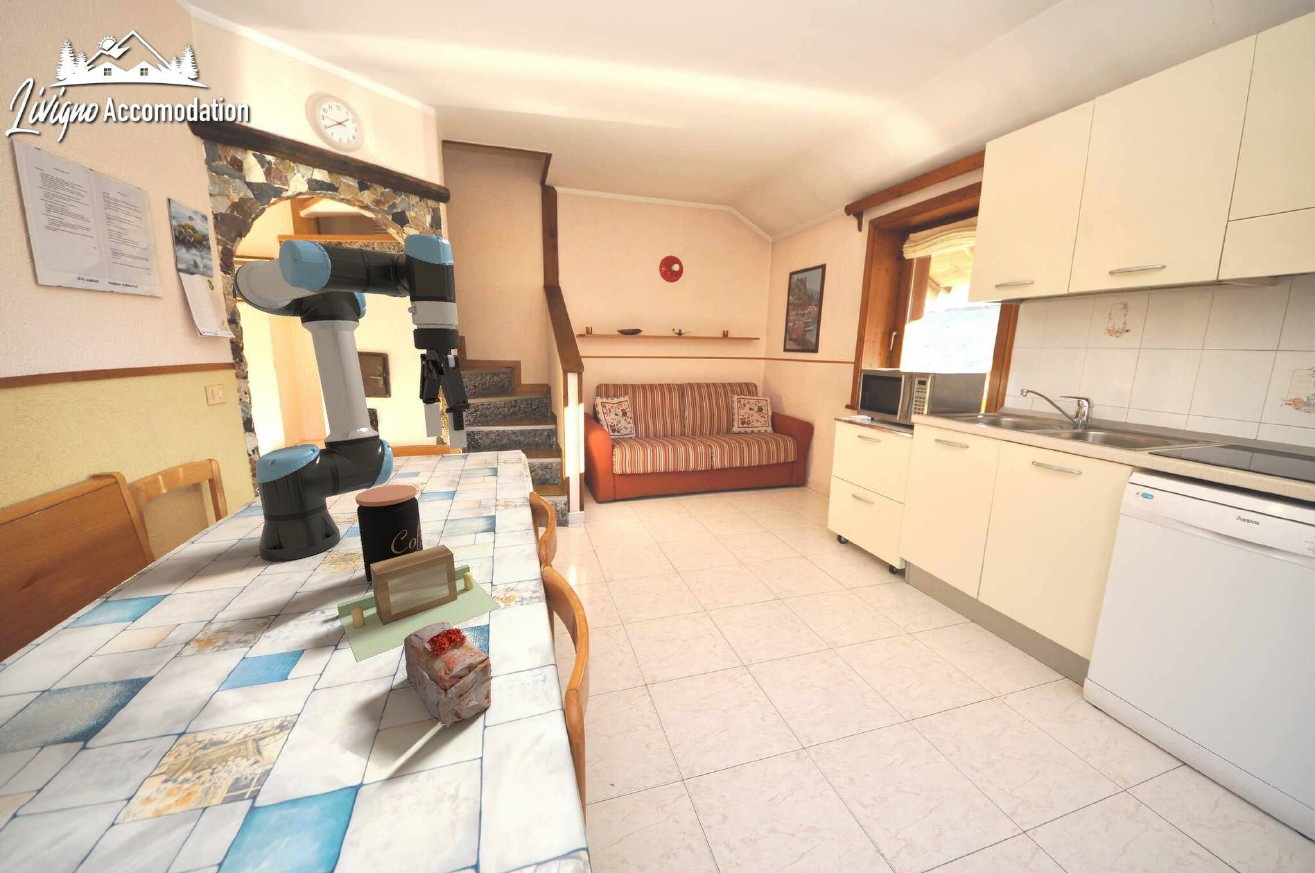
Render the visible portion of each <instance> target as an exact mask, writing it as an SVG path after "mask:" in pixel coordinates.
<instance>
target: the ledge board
mask: <svg viewBox="0 0 1315 873" xmlns="http://www.w3.org/2000/svg"><path fill="white" fill-rule="evenodd" d="M473 574H474V573H473V572H471V569H470V565H468V564H464V565H461V566H458V567H455V578H456V589H457V600H454V601H451V602H448V603H445V604H443V605H440V606H437V607H434V608H431V609H428V610H425V611H423V612H420V613H417V614H414V615H411V616H408V617H406V618H403V619H400V620H397V621H394V622H391V623H388V624H386V625H383V624H382V622H381V620H380V618H379V616H378V615H377V613H376V606H375V598H374V592H373V593H369V594H366V595H362V596H360V597H357V598H353V599H349V600H347V601H343V602H340V603H338V604H336V607H337V613H338V616H339V620H340V621H341V625H342V627H343V629H344V632H345V635H346V638H347V639H348V642H349V645H350V647H351V650H352V652H353V655H354V658H355V661H356V663H358V662H361V661H364V660H367V659H370V658H372V657H374V656H377V655H380V654H382V653H384V652H387V651H390V650H393V649H395V648H397V647H401V646H403V645H404V639H405V638H406V637H407V636H408V635H410V634H411V633H413V632H415V631H417V630H420V629H422V628H423V627H425V626H427V625H430V624H434V623H438V622H449V623H450V625H451V626H452V627H454V626H455V625H458V624H460V623H463V622H466V621H468V620H471V619H474V618H477V617H479V616H481V615H484V614H486V613H489V612H492V611H495V610H497V609H500V608H502V606H501V605H500V604H499V603H498V602H497V601H496V600H495V599H494V598H493V596H491V594H489V593H488V592H487V591H486V590H485V589H484V588H483V587H482V585H480V584H479V583H478V582H477V580H475V579H474V575H473Z"/></svg>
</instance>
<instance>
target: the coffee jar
mask: <svg viewBox="0 0 1315 873" xmlns="http://www.w3.org/2000/svg"><path fill="white" fill-rule="evenodd" d="M417 494H418V490H417V488H416V487H415V486H412V485H406V484H393V485H384V486H379V487H378V486H377V487H372V488H370V489H366V490H363V491H362V492H360V493H358V494H357V495H355V496H354V497H355V503H356V504H357V506H358V507H357V508H356V513H357V522H358V528H359V535H360V543H361V544H360V545H361V550H362V551H361V552H362V558H363V566H364V574H365V580H366V581H367V582H368V583H372V575H371V568H370V564H373V563H377V562H381V561H385V560H388V559H392V558H396V557H399V556H403V555H407V554H410V553H414V552H418V551H421V550H424V545H423V537H422V536H423V535H422V528H421V527H422V526H421V516H420V508H419V501H418V499H417V497H416V496H417Z"/></svg>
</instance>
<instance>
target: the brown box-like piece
mask: <svg viewBox="0 0 1315 873" xmlns="http://www.w3.org/2000/svg"><path fill="white" fill-rule="evenodd" d="M370 568H371V575H372V582H371V584H372V588H373V590H372V591H373V593H374V598H375V606H376V613H377V615H378V616H379V618H380V620H381V622H382V624H383V625H386V624H388V623H391V622H394V621H397V620H400V619H403V618H406V617H408V616H411V615H414V614H417V613H420V612H423V611H425V610H428V609H431V608H434V607H437V606H440V605H443V604H445V603H448V602H451V601H454V600H457V589H456V578H455V568H456V567H455V558H454V552H453V551H451V550H450V549H449V548H448V547H447V546H446V545H445V544H440V545H437V546H433V547H430V548H425V549H423V550H421V551H418V552H414V553H410V554H407V555H403V556H399V557H396V558H392V559H388V560H385V561H381V562H377V563H373V564H370Z"/></svg>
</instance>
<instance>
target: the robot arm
mask: <svg viewBox="0 0 1315 873" xmlns="http://www.w3.org/2000/svg"><path fill="white" fill-rule="evenodd" d="M280 246H281V247H280V248H279V251H278V257H277V258H273V259H271V260H264V259H263V260H261V259H260V260H259V259H255V260H251V261H248V262H246V263H244V264H243V265H241V266H239V267H238V268H237V269H236V271H235V273H234V275H233V280H232V281H233V282H232V283H233V287H234V289H235V292H236V294H237V295H238V297H240V299H241V300H242V301H243V302H244V303H246V304H247V305H248V306H249V307H251V308H254V309H256V310H258V311H260V312H263V313H266V314H270V315H274V316H280V317H292V318H293V317H295V318H296V317H297V318H300V323H301V326H302V328H304V329H305V330H306V331H308V332H309V333H310V334H311V337H312V338H311V340H312V344H313V349H314V355H315V358H316V359H315V360H316V366H317V370H318V376H319V380H320V387H321V391H322V397H323V400H324V401H323V402H324V408H325V413H326V418H327V423H328V429H329V434H328V435H327V436H326V438H325V439H324V440H323V442H324V448H319V447H318V445H317V444H313V443H306V444H305V443H303V444H299V445H298V444H296V445H291V446H286V447H282V448H278V449H275V450H272V451H270V452H267V453H265V454H263V455H261V456H259V457H258V459H257V460H256V462H255V475H256V476H255V481H256V483H257V486H258V491H259V497H260V502H261V509H262V515H263V520H264V522H263V523H264V524H263V527H262V531H261V536H260V541H259V544H258V551H259V556H260V557H261V558H262V559H263V560H265V561H266V560H267V561H271V562H272V561H273V562H274V561H276V562H277V561H278V562H280V561H283V562H284V561H292V560H297V559H298V560H299V559H301V558H302V559H303V558H306V557H310V556H314V555H317V554H320V553H323V552H325V551H327V550H329V549H332V548H333V547H335V546H336V545H338V544H339V543H340V541H341V534H340V533H341V531H340V528H339V527H338V525H337V524H336V522H335V520H334V519H333V516H332V515H331V513H330V512H329V509H328V507H327V506H328V505H327V498H331V497H336V496H339V495H344V494H347V493H351V492H352V493H353V492H356V491H360V490H365V489H366V490H369V489H373V488H375V487H376V486H377V487H378V486H381V485H384V484H386V482H388V480H389V479H390V478H391V475H392V474H393V473H392V472H393V469H394V454H393V450H392V448H391V444H389V442H388V440H386V439H383V438H380V433H379V432H378V431H376V430H375V429H373V428H372V426H371V420H370V415H369V410H368V405H367V404H368V403H367V399H366V392H365V387H364V380H363V376H362V371H361V364H360V360H359V353H358V349H357V343H356V337H355V330H357V328H358V327H359V326H360V325H361V324H360V320H361V319H363V318H364V317H365V315H366V313H367V309H366V307H367V300H366V295H365V294H370V295H371V294H372V295H383V296H384V295H385V296H388V297H392V298H401V299H402V298H407V297H409V302H410V307H408V308H407V312H408V313H410V314H411V321H412V325H414V326H416V328H413V330H412V333H413V336H412V337H413V343H414V344H413V345H414V348H415V349H417V350H422V351H423V350H424V351H426V352H425V353H420V354H419V359H420V374H419V375H420V377H419V378H420V379H419V395H418V396H419V397H418V398H419V400H421V401H422V403H423V410H424V411H423V412H424V419H425V420H424V421H425V431H426V432H425V433H426V438H433V437H434V438H435V437H442V436H443V431H442V430H443V429H442V428H443V427H442V418H441V406H440V403H442V401H441V398H440V397H439V393H440V391H442V393H443V397H444V399H445V402H446V406H447V407H446V409H445V411H444V413H445V414H446V417H447V426H448V436H449V437H448V438H449V448H450V450H456V449H463V448H467V447H468V441H467V427H466V418H465V412H466V410H469V409H470V404H469V400H468V397H467V392H466V389H465V388H466V387H465V384H464V381H463V377H462V376H463V375H462V372H461V368H460V359H459V356H458V354H452V355H451V350H458V349H459V348H460V347H461V346H460V345H461V344H460V334H459V330H458V329H457V328H456V326H458V325H459V318H458V314H459V313H458V305H457V304H458V303H457V301H456V283H455V282H456V281H455V265H454V264H455V261H454V259H453V252H452V245H451V243H450V241H449V240H448V239H446V238H444V237H442V236H438V235H433V234H427V233H425V234H424V233H421V234H420V233H414V234H413V233H412V234H408V235H407V236H405V238H404V245H403V246H404V248H403V252H401V253H396V252H395V253H394V252H386V251H379V250H372V249H367V248H366V249H364V248H359V247H358V248H356V247H349V246H341V245H337V244H328V243H322V242H316V241H313V240H307V239H306V240H304V239H303V240H299V239H286V240H284V241H283V242H282V243H281V245H280ZM440 389H441V390H440Z"/></svg>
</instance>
